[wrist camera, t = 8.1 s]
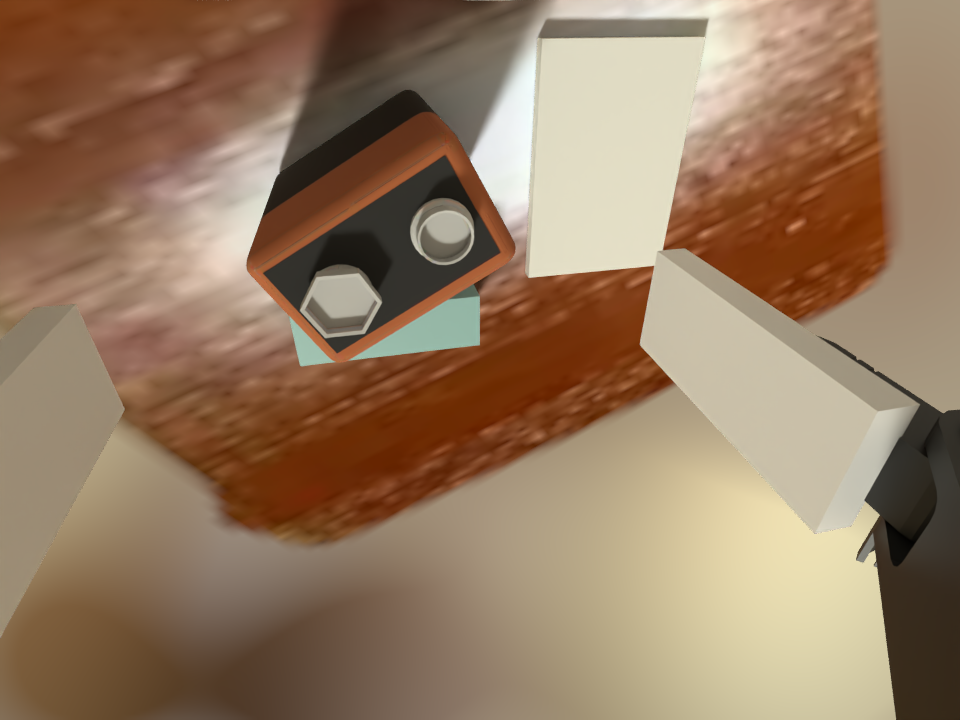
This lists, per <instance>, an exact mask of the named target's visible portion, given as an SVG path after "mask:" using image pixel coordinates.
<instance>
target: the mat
mask: <svg viewBox="0 0 960 720" xmlns="http://www.w3.org/2000/svg"><path fill="white" fill-rule="evenodd" d="M705 39H706V37H699V36H687V37H583V38H538V40H537V59H536V78H535V97H534V116H533V135H532V154H531V173H530V191H529V210H528V229H527V248H526V267H525V273H526V275H527V276H528V277H529V278H531V277H541V276H551V275H562V274H572V273H583V272H593V271H603V270H614V269H624V268H634V267H645V266H655V261H656V256H657V251H662V250H663V245H664V240H665V235H666V230H667V226H668V221H669V216H670V211H671V206H672V201H673V196H674V191H675V186H676V181H677V176H678V172H679V167H680V162H681V157H682V152H683V147H684V142H685V137H686V132H687V127H688V122H689V118H690V113H691V108H692V103H693V98H694V93H695V88H696V83H697V78H698V73H699V68H700V64H701V59H702V54H703V49H704V44H705Z"/></svg>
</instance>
